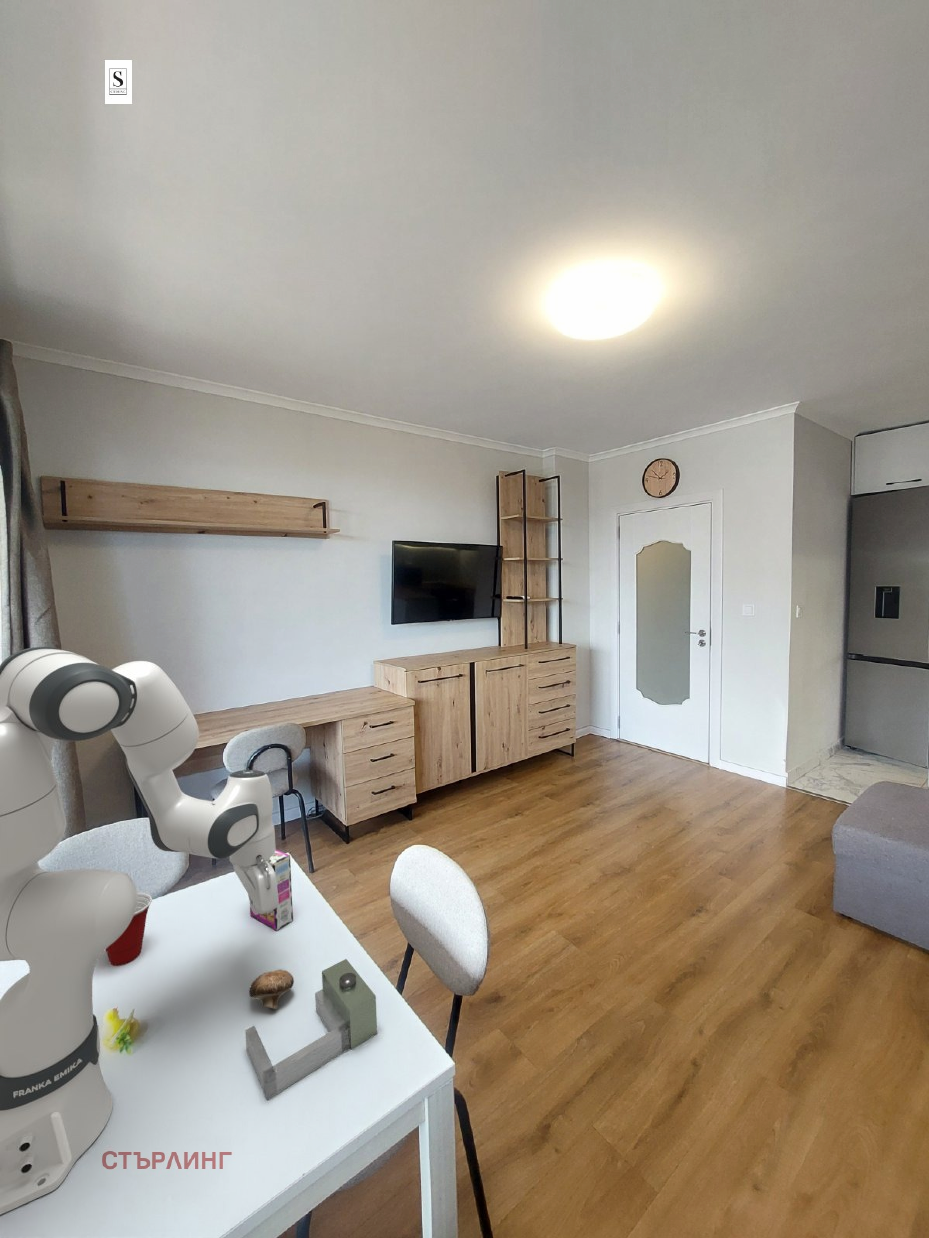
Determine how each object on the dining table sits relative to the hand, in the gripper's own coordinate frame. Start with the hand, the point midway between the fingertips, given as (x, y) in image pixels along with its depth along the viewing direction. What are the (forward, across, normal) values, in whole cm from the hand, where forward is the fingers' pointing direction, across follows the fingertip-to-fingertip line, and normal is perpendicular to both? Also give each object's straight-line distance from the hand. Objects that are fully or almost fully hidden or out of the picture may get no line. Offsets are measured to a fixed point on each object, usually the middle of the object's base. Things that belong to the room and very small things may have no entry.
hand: (256, 910), depth 105 cm
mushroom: (+13, -10, +1) cm, 17 cm away
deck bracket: (+13, -24, -2) cm, 27 cm away
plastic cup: (+14, +24, +22) cm, 35 cm away
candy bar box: (+14, +16, -7) cm, 22 cm away
